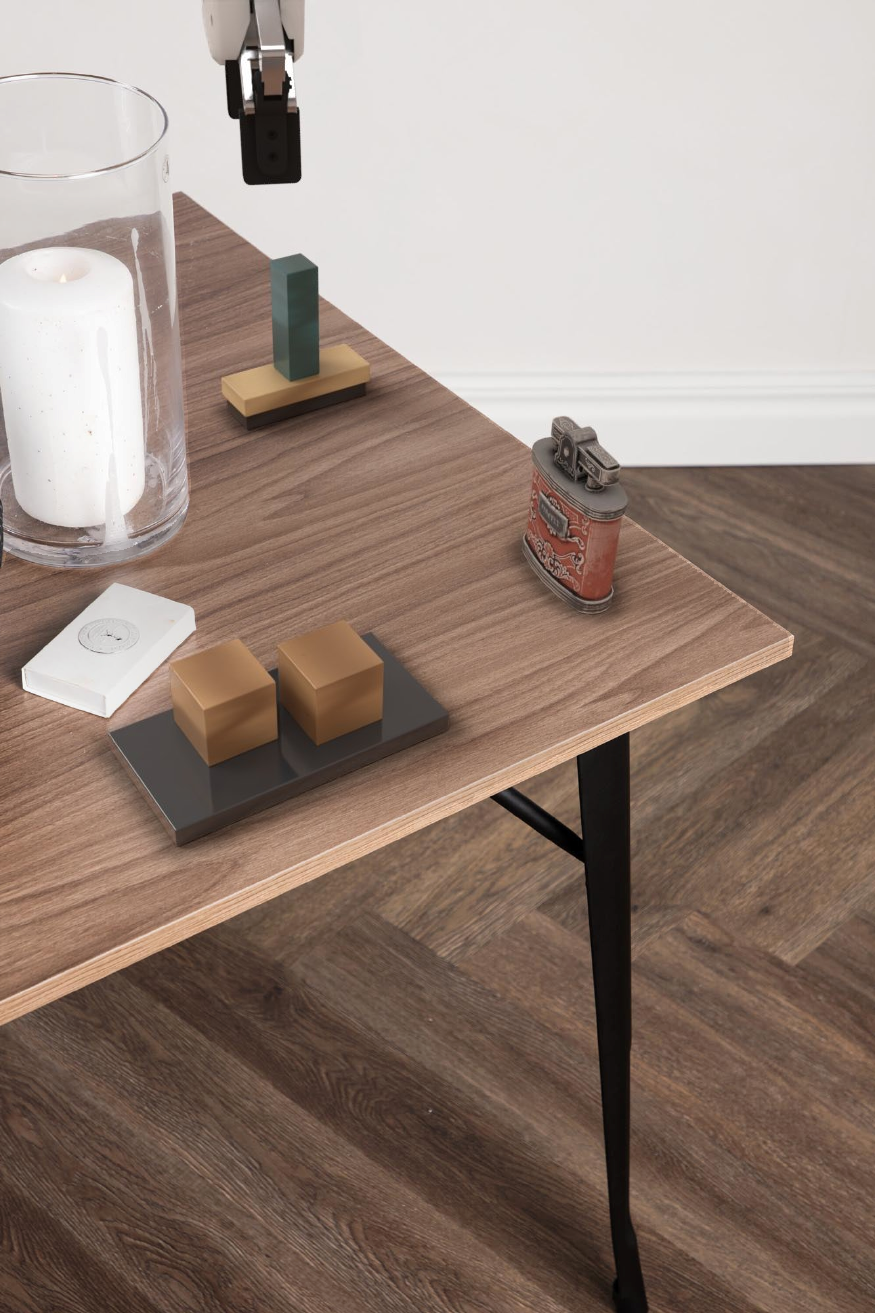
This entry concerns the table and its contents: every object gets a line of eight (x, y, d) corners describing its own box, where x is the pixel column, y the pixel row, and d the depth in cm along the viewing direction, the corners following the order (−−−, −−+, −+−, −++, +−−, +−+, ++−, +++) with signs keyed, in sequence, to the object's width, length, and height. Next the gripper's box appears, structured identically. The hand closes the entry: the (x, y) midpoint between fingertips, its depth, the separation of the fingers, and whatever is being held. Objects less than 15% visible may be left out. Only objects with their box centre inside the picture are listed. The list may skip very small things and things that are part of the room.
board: (177, 847, 69) (175, 831, 68) (109, 748, 74) (107, 732, 73) (449, 730, 76) (450, 713, 75) (370, 646, 81) (371, 630, 80)
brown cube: (316, 746, 73) (315, 689, 70) (279, 701, 75) (276, 644, 73) (382, 719, 75) (384, 662, 72) (343, 675, 77) (343, 619, 75)
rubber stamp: (246, 432, 97) (238, 290, 91) (222, 409, 100) (213, 268, 93) (370, 395, 102) (372, 257, 95) (345, 374, 104) (345, 237, 97)
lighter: (509, 545, 89) (522, 406, 82) (556, 532, 90) (572, 395, 84) (576, 619, 84) (596, 478, 77) (624, 605, 85) (648, 464, 78)
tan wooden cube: (208, 767, 71) (203, 709, 69) (173, 721, 74) (167, 663, 71) (278, 739, 73) (276, 681, 71) (242, 694, 76) (238, 637, 73)
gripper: (162, -226, 76) (188, 96, 88) (181, -152, 64) (208, 214, 75) (301, -225, 78) (309, 92, 89) (347, -153, 65) (349, 207, 76)
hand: (263, 147), depth 82 cm, fingers open, 9 cm apart
